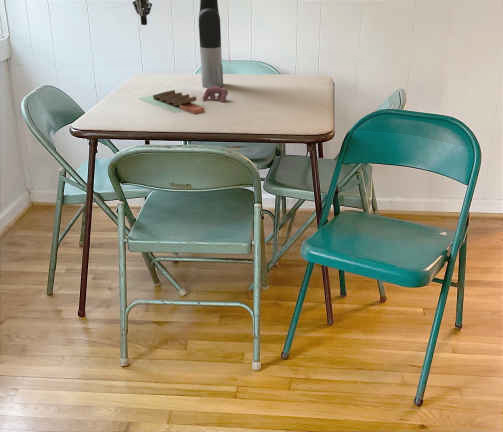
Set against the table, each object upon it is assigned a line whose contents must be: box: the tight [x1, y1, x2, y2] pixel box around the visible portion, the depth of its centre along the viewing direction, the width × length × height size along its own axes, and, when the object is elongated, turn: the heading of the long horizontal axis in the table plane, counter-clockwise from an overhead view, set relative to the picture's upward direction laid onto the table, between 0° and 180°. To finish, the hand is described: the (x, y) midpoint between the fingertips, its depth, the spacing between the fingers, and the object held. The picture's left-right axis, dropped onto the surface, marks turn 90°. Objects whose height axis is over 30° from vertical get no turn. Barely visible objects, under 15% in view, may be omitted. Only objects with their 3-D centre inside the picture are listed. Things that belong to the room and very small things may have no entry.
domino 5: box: [179, 103, 205, 115], centre depth 247 cm, size 2×5×10 cm
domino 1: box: [152, 89, 176, 99], centre depth 261 cm, size 2×5×10 cm
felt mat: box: [137, 94, 205, 114], centre depth 259 cm, size 30×14×1 cm, turn 39°
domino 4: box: [173, 96, 198, 106], centre depth 250 cm, size 2×5×10 cm
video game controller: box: [202, 86, 229, 103], centre depth 260 cm, size 10×5×7 cm, turn 66°
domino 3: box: [166, 94, 190, 104], centre depth 254 cm, size 2×5×10 cm
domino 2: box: [159, 92, 183, 101], centre depth 258 cm, size 2×5×10 cm
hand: (144, 24), depth 274 cm, fingers closed
